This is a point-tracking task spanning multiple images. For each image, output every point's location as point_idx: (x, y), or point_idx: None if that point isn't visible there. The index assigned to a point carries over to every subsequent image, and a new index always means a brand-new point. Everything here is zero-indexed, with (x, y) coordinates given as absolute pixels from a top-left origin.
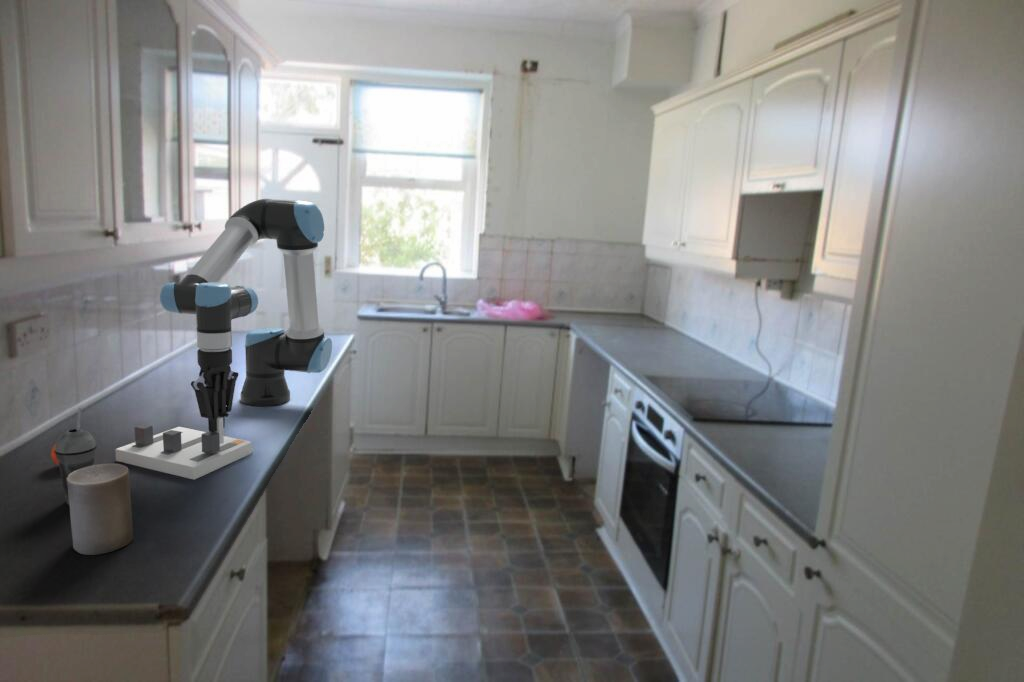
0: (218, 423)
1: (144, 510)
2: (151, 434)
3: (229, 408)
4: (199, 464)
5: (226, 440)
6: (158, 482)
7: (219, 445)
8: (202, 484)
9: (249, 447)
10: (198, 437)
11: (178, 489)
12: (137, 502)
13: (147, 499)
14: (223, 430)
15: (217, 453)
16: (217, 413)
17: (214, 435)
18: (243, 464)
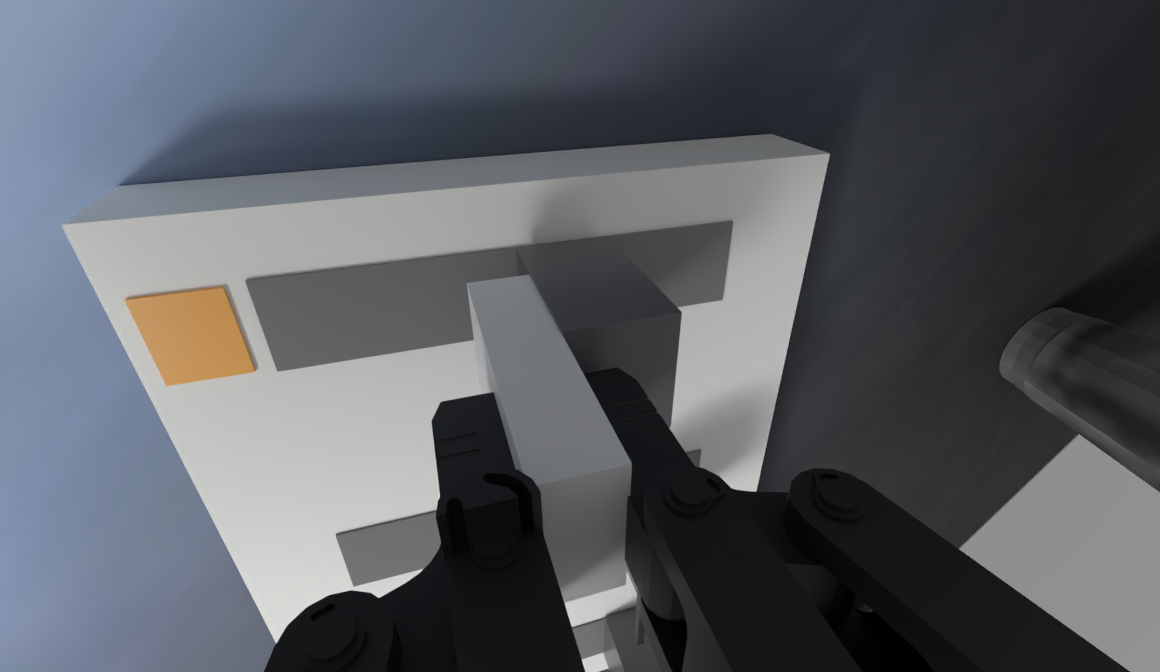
0: (604, 417)
1: (1145, 24)
2: (634, 667)
3: (342, 664)
4: (774, 163)
5: (265, 430)
6: (844, 269)
7: (528, 268)
8: (817, 14)
9: (134, 204)
10: (381, 582)
11: (906, 94)
12: (1057, 142)
13: (1028, 130)
14: (486, 356)
15: (533, 242)
16: (685, 550)
17: (636, 317)
18: (372, 34)
